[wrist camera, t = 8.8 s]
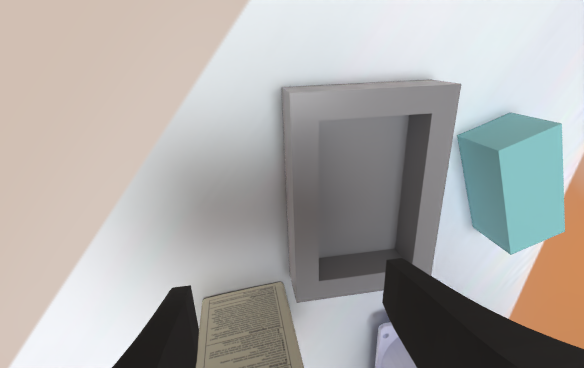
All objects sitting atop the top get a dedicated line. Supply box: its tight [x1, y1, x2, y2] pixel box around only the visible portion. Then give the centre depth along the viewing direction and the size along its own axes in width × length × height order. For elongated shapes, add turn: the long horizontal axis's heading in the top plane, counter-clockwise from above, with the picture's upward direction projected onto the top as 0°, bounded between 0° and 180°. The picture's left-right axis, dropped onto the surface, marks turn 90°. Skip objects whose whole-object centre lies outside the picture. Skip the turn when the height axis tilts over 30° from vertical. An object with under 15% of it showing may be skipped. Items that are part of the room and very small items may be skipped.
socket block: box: [282, 80, 461, 303], centre depth 21 cm, size 14×10×3 cm
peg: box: [457, 113, 565, 255], centre depth 22 cm, size 8×4×4 cm, turn 21°
